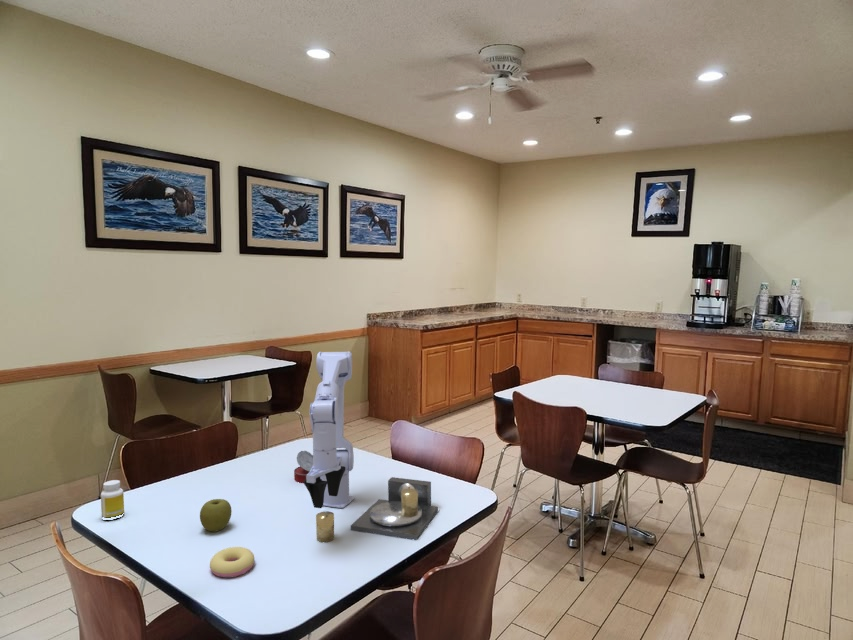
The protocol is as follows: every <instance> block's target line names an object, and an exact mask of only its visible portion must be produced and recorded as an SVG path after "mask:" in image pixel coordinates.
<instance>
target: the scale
mask: <svg viewBox="0 0 853 640" xmlns="http://www.w3.org/2000/svg"><path fill="white" fill-rule="evenodd" d="M387 485H388V486H387V491H388V492H387V493H388V494H387V495H388V498H387V499H381V498H379V499H377V500H376V501H375V502H374V503H373V504H372V505H371V506H370V507H369V508H368V509H366V511H365V512H363V513H362V514H361V515H360V516H359V517H358V518H357V519H356V520H355V521H354V522H353V523H351V524H350V531H355V532H362V533H367V534H375V535H380V536H388V537H395V538H398V539H399V538H400V539H406V538H407V539H406V540H412V539H414V540H413V541H417V540H416V539H418V538H419V537H420V536H419V535H421V534H422V533H423V532H424V530H425V529H426V528H427V526H428V525H429V524H430V523H431V521H432V520H433V519H434V517H435V516H436V514H437V513H438V512H439V507H438V506H436V505H435V506H434V505H432V481H428V480H421V479H420V480H419V479H411V478H402V477H401V478H400V477H395V476H394V477H393V476H392V477H390V479H388V480H387ZM404 489H415V490H417V491H418V506H419V507H420V508H421V509H422V516H421V518H420V519H419V520H418V521H416V522H414V523H412V524H408V525H404V526H385V525H380V524H377V523H375V522H373V521H372V520H371V518H370V511H371V509H372V508H373V507H375V506H377V505H379V504H382V503H386V502H393V501H401V491H402V490H404ZM437 511H438V512H437ZM434 515H435V516H434ZM431 519H432V520H431ZM428 523H429V524H428ZM425 527H426V528H425ZM424 528H425V529H424ZM422 531H423V532H422Z"/></svg>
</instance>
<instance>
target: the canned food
mask: <svg viewBox="0 0 853 640" xmlns="http://www.w3.org/2000/svg"><path fill="white" fill-rule="evenodd" d="M296 462H297V464H298V467H296V468H295V469H294V470H293V473H294V474H293V477H294V478H293V479H294V482H296V483H298V482H299V484H304V480H305V479H306V475H307V474H308V473H309V472H310V470H311V468H312V466H313V453H311V452H309V451H307V450H300V451H299V452H298V453H297V456H296Z"/></svg>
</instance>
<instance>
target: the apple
mask: <svg viewBox="0 0 853 640" xmlns="http://www.w3.org/2000/svg"><path fill="white" fill-rule="evenodd" d="M232 512H233V511H232V506H231V503H230V502H229V501H228V500H226V499H224V498H223V499H222V498H215V499H210V500H208V501H206V502H205V503H204V504H203V505H202V507H201V509H200V512H199V520H200V523H201V526H202V527H203V528H204V529H205V530H206V531H207V532H211V533H212V532H213V533H215V531H216V532H219V531H221V530H223V529H224V528H226V527H227V526H228V524H229V522H230V521H231V517H232Z"/></svg>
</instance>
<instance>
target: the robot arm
mask: <svg viewBox="0 0 853 640" xmlns="http://www.w3.org/2000/svg"><path fill="white" fill-rule="evenodd" d="M316 370H317V373H318V376H319V377H320V380H321V382H319V383H318V385H317V387H316V390H315V391H316V392H315V396H314V399H313V400H314V401H313V402H312V401H311V402H310V405H309V419H310V428H311V432H312V455H313V466H312V468H311V470H310V472H309V473H308V474H307V475H306V479H305V480H304V483H303V484H304V486H305V487H306V489H307V491H308V493H309V495H310V499H311V503H312V505H313V507H314V509H315V508H317V509H322V508H323V507H329V508H338V509H344V508H345V507H346V506H347V505H349V504H350V503H351V502H352V501H354V499H356V496H353V495H350V472H352V470H353V469H354V455H355V454H354V446H353V443H352V442H351V441H349V440H348V439H347V438H345V437H344V436H345V435H344V433H345V432H344V431H345V430H344V429H345V426H344V425H345V422H344V421H345V420H344V419H345V418H344V417H345V413H344V412H345V411H344V410H345V407H344V406H345V405H344V404H345V403H344V402H345V387H346V382H347V381H349V380H351V379H352V377H353V353H352V352H351V351H350V350H347V351H318V353H317V354H316Z"/></svg>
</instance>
